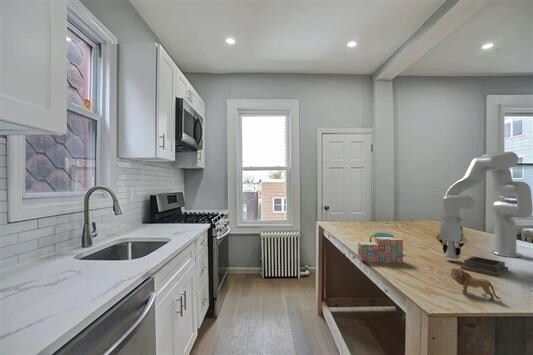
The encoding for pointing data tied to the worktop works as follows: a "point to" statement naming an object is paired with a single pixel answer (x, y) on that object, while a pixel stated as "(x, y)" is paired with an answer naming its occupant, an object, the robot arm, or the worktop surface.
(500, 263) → the board
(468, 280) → the lion figurine
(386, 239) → the stack of blocks
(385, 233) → the snack cup
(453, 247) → the flask
